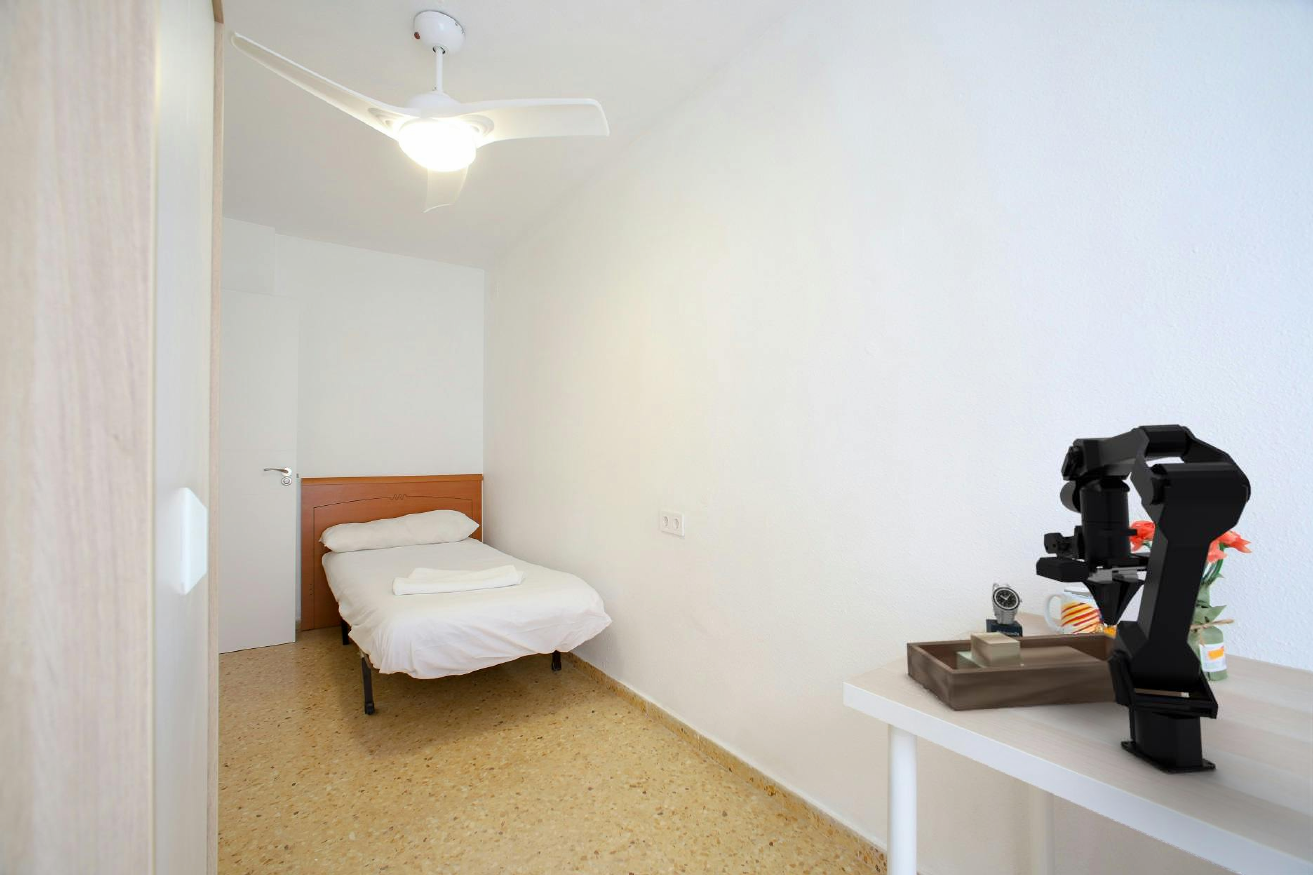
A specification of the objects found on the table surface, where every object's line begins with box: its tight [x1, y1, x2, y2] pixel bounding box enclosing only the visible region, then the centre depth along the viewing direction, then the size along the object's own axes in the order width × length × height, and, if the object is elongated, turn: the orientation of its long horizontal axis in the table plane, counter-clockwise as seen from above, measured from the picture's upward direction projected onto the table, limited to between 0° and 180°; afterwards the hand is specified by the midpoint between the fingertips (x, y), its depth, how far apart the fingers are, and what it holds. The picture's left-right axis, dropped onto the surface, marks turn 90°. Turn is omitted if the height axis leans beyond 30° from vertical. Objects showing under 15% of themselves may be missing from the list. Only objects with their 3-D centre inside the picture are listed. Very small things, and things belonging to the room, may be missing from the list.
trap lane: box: [906, 631, 1183, 712], centre depth 93 cm, size 14×36×6 cm, turn 93°
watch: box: [985, 582, 1024, 637], centre depth 116 cm, size 6×8×11 cm
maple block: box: [970, 632, 1021, 668], centre depth 93 cm, size 5×5×4 cm
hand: (1110, 624), depth 85 cm, fingers closed
